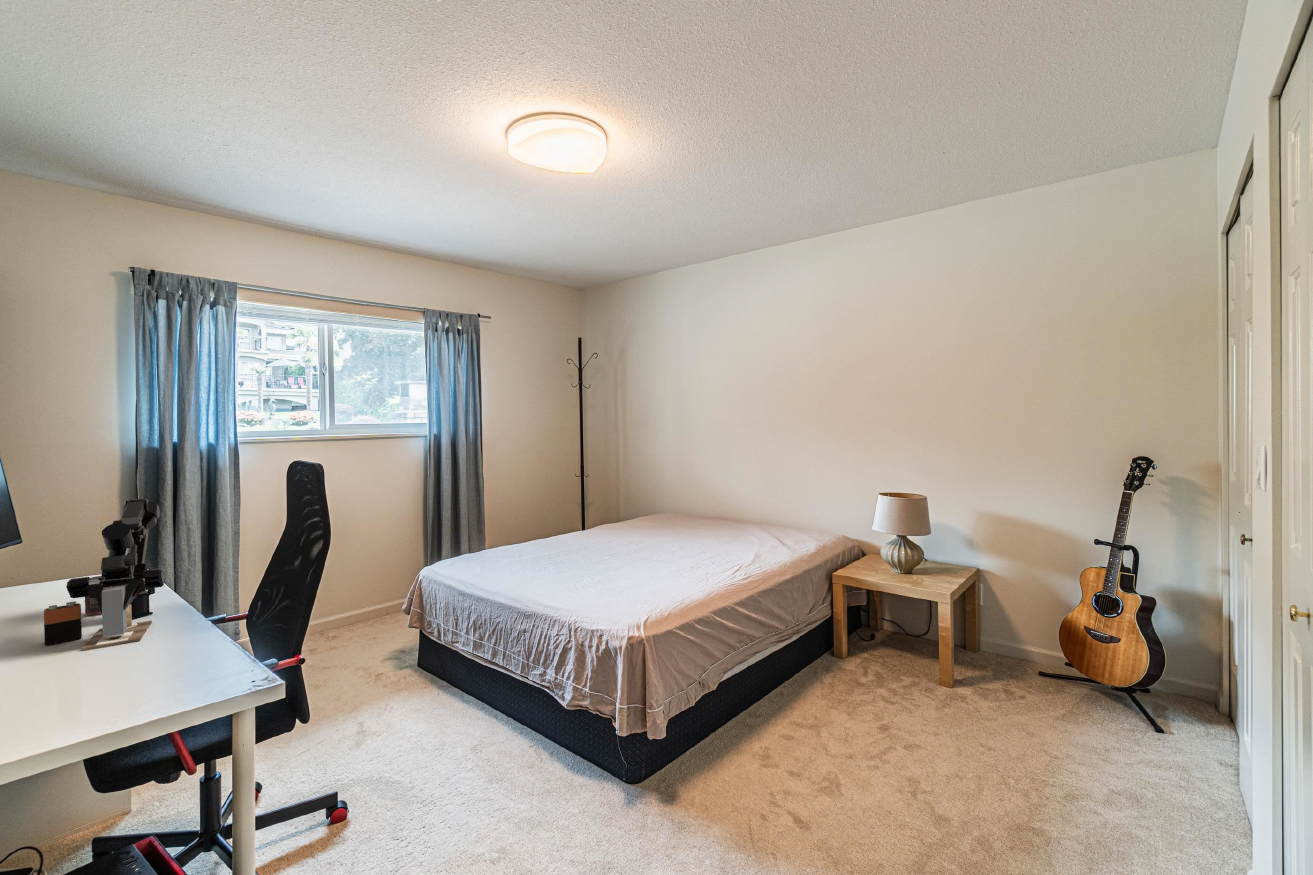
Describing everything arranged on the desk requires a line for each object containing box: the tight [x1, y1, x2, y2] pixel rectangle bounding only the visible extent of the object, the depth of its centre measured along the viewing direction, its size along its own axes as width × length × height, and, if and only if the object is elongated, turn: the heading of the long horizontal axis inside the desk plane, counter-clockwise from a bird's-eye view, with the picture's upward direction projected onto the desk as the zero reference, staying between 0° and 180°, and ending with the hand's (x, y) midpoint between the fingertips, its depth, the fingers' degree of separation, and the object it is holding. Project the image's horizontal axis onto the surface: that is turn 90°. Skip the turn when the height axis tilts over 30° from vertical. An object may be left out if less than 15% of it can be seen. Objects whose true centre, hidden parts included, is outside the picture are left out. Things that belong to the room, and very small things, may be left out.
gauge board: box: [80, 604, 153, 652], centre depth 153 cm, size 18×11×7 cm, turn 34°
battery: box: [43, 600, 83, 647], centre depth 150 cm, size 4×7×10 cm, turn 137°
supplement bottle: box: [84, 575, 112, 617], centre depth 174 cm, size 6×6×11 cm
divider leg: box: [101, 586, 127, 637], centre depth 149 cm, size 4×4×12 cm
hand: (113, 610), depth 148 cm, fingers closed on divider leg, 4 cm apart
